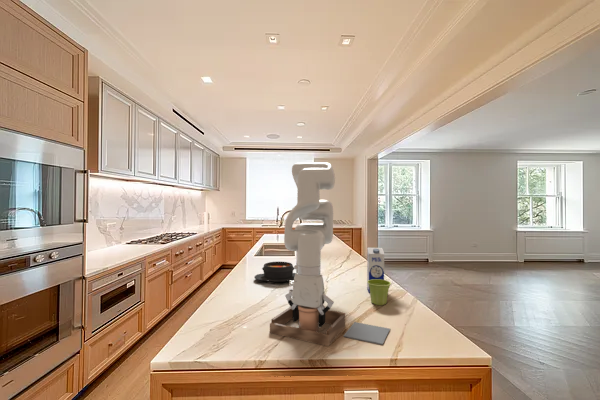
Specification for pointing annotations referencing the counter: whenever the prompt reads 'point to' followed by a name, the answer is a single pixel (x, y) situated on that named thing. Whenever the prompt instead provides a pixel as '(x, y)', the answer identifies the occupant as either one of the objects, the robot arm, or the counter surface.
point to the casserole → (277, 272)
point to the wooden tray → (326, 339)
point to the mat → (367, 333)
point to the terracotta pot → (308, 318)
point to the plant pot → (378, 291)
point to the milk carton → (375, 264)
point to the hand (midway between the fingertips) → (308, 322)
